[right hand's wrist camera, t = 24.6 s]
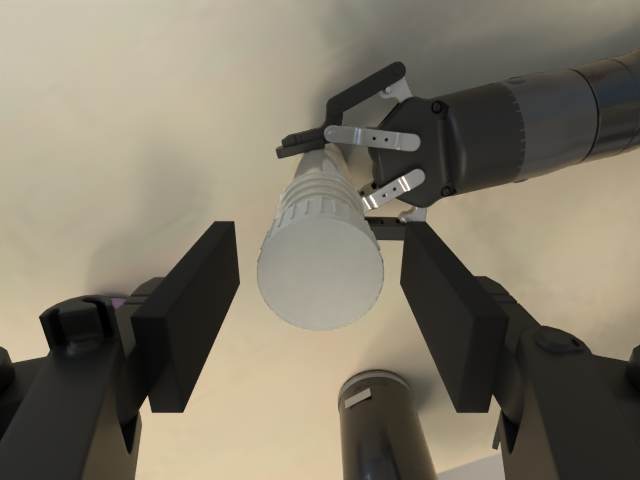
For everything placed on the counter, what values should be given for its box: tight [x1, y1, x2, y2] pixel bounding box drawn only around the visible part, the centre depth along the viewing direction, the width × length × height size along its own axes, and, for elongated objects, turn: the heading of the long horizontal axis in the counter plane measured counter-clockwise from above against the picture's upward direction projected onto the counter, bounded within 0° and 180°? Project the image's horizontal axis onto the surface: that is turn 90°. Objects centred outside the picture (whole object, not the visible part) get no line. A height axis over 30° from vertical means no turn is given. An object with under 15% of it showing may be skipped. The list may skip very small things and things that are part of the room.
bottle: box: [276, 143, 365, 220], centre depth 23 cm, size 5×5×23 cm
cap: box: [257, 198, 384, 330], centre depth 13 cm, size 4×4×2 cm
